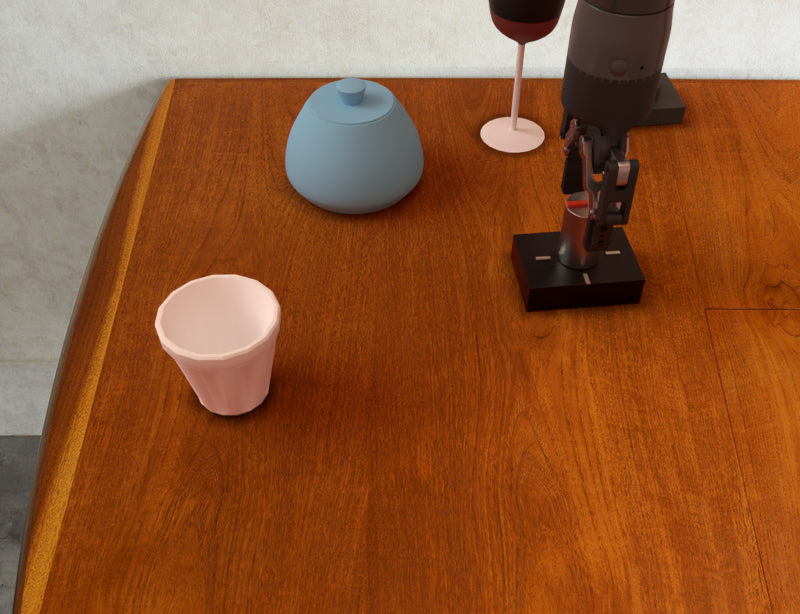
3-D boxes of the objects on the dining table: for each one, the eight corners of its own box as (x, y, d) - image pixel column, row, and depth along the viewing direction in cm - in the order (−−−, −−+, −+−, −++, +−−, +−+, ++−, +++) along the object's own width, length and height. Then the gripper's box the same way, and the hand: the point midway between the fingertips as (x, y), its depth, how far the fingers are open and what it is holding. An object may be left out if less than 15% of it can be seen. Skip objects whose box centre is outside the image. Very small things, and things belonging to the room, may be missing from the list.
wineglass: (532, 161, 101) (554, -17, 86) (463, 140, 104) (473, -36, 89) (560, 128, 106) (586, -47, 91) (493, 108, 108) (508, -65, 93)
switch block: (661, 88, 111) (669, 58, 108) (682, 123, 106) (690, 92, 103) (575, 93, 111) (580, 63, 108) (591, 129, 105) (597, 98, 102)
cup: (283, 342, 82) (272, 265, 75) (298, 424, 76) (288, 347, 69) (173, 359, 81) (152, 282, 74) (179, 444, 74) (156, 368, 67)
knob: (593, 241, 87) (604, 187, 82) (603, 267, 84) (615, 213, 80) (552, 244, 87) (561, 190, 82) (562, 271, 84) (571, 216, 79)
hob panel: (616, 249, 91) (622, 224, 89) (639, 304, 86) (646, 278, 83) (510, 257, 90) (513, 232, 88) (526, 312, 85) (530, 287, 82)
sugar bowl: (439, 210, 95) (442, 112, 87) (300, 232, 93) (289, 133, 84) (404, 134, 105) (404, 39, 96) (277, 152, 102) (266, 56, 94)
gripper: (691, 97, 66) (645, 267, 78) (636, 8, 75) (602, 172, 87) (592, 102, 65) (560, 273, 77) (549, 12, 74) (527, 176, 87)
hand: (583, 219), depth 82 cm, fingers open, 8 cm apart
